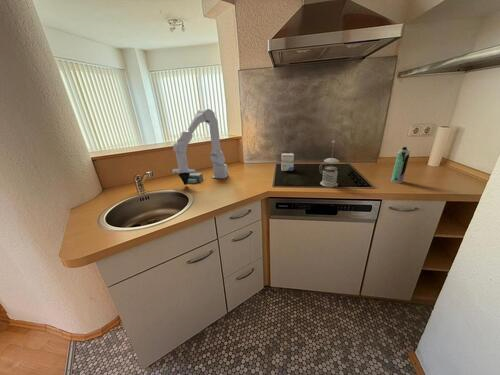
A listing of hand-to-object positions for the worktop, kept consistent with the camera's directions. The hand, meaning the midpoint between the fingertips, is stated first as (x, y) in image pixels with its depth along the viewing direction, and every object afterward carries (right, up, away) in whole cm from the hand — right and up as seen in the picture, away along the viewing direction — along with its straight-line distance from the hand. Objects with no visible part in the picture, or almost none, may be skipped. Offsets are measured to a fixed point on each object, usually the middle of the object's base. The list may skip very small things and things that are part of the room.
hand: (186, 184), depth 124 cm
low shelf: (+2, +3, +10) cm, 11 cm away
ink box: (+67, +11, +23) cm, 71 cm away
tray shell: (+2, +2, +8) cm, 8 cm away
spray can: (+125, +1, -6) cm, 125 cm away
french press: (+85, 0, -5) cm, 85 cm away
